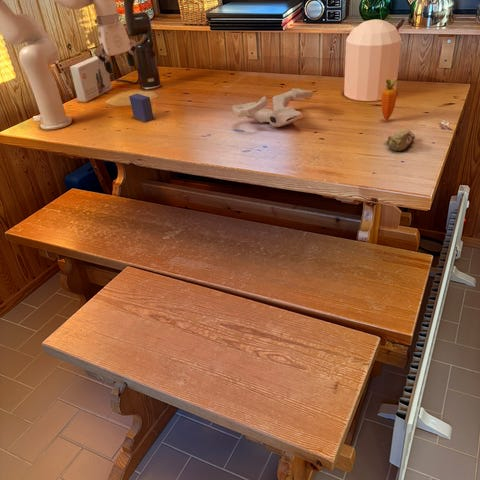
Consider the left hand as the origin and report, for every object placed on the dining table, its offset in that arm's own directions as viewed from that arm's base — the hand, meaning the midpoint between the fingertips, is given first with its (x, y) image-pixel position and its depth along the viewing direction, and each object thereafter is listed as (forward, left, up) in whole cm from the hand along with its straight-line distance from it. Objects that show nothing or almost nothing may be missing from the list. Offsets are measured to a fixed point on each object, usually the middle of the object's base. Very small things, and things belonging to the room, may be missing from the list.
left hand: (121, 69), depth 175 cm
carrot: (+97, -17, -21) cm, 100 cm away
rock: (+97, -39, -21) cm, 106 cm away
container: (+97, +15, -21) cm, 101 cm away
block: (+4, +4, -21) cm, 22 cm away
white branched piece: (+59, -14, -21) cm, 64 cm away
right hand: (+32, +48, +16) cm, 60 cm away
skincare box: (-27, +41, -21) cm, 54 cm away
